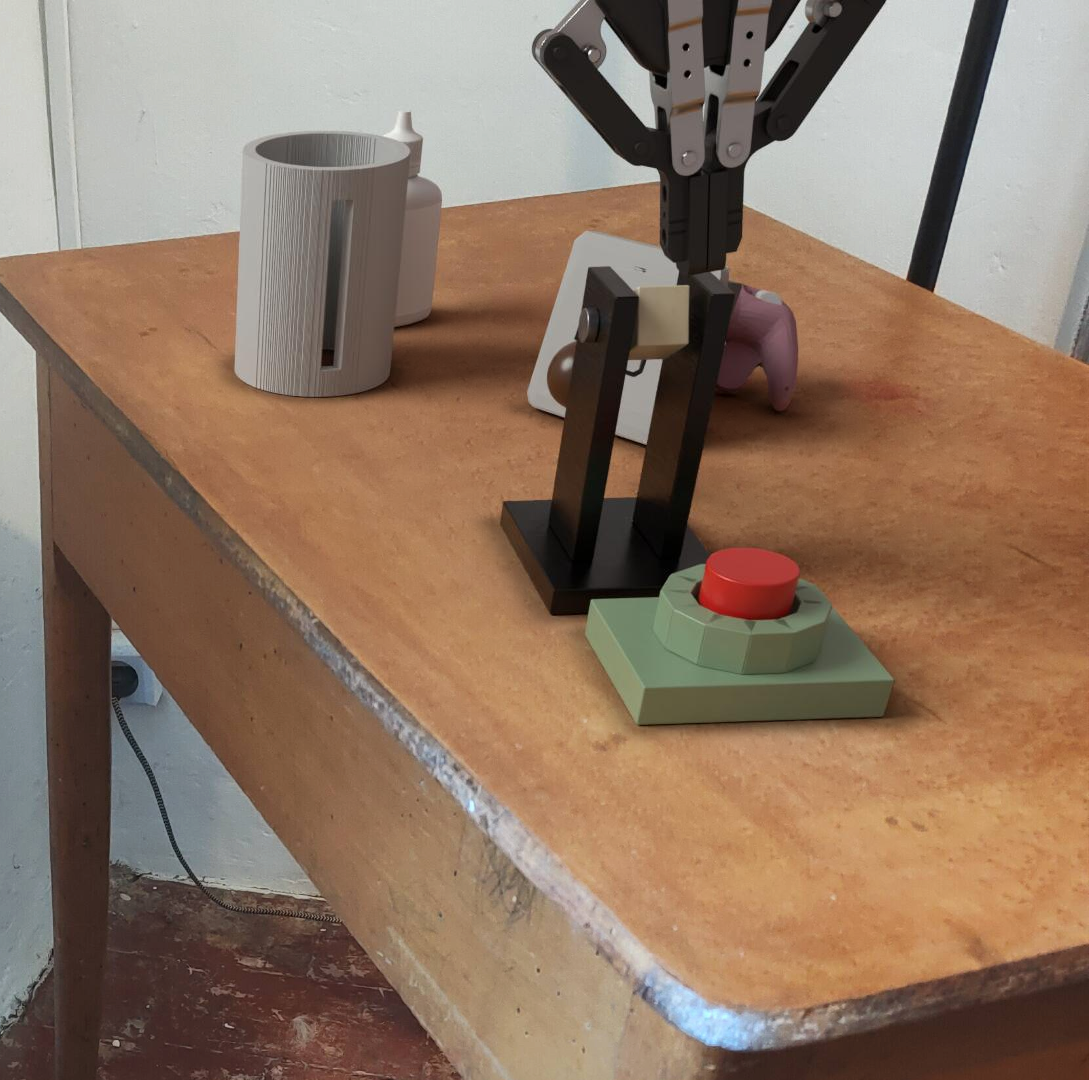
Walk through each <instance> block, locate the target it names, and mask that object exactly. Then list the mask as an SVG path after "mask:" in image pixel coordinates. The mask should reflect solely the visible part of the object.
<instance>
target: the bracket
mask: <svg viewBox="0 0 1089 1080" xmlns="http://www.w3.org/2000/svg"><path fill="white" fill-rule="evenodd" d="M677 285H689V287H690V291H689V343H688V345H686V346H684V347H683V348H681V349H680V350H678V351H677V352H675V353H674V354H672V355H671V356H669V357H668V358H666V359H663V360H662V365H661V370H660V376H659V381H658V386H657V391H656V397H655V402H654V407H653V413H652V418H651V423H650V429H649V434H648V439H647V445H645V449H644V450H645V451H644V455H643V456H644V457H643V461H642V467H641V472H640V477H639V482H638V488H637V492H636V496H629V497H626V496H625V497H605V494H606V489H607V482H608V478H609V472H610V466H611V460H612V454H613V449H614V444H615V438H616V435H615V432H616V427H617V421H618V415H619V410H620V404H621V398H622V393H623V387H624V381H625V375H626V370H627V364H628V358H629V353H630V347H631V341H632V336H633V330H634V324H635V319H636V313H637V307H638V302H639V296H638V295H637V294H636V293H635V292H634V291H633V290H632V289H631V288H630V287H629V286H628V285H627V284H626V283H625V281H624V280H623V279H622V278H621V277H620V276H619V275H618V274H617V273H616V272H615V271H614V270H613V269H612V268H611V267H610V266H604V267H589V268H588V272H587V278H586V284H585V291H584V297H583V304H582V310H581V314H580V318H579V325H578V335H577V342H576V348H575V355H574V361H573V367H572V374H571V380H570V387H569V393H568V399H567V406H566V412H565V418H564V420H563V426H562V432H561V438H560V444H559V445H560V446H559V450H558V458H557V466H556V470H555V476H554V483H553V488H552V489H553V490H552V495H551V496H552V497H551V499H530V500H529V499H527V500H503V501H502V505H501V515H500V521H499V525H500V526H501V528H502V530H503V532H504V533H505V535H506V538H507V540H508V541H509V543H510V544H511V546H512V549H513V550H514V552H515V554H516V556H517V558H518V559H519V561H520V563H521V564H522V566H523V568H524V570H525V572H526V573H527V575H528V577H529V579H530V581H531V582H532V584H533V586H534V588H535V590H536V592H537V593H538V595H539V598H540V600H541V601H542V602H543V604H544V606H545V608H546V610H547V611H548V613H549V615H577V614H581V615H582V614H588V613H589V607H590V602H591V600H592V599H618V598H650V597H659V595H660V591H661V589H662V588H663V586H664V584H665V583H666V581H667V579H668V578H669V576H670V575H671V574H673V573H676V572H679V571H682V570H685V569H688V568H691V567H694V566H697V565H700V564H706V562H707V559H708V558H709V557H710V556H711V555H712V554H711V553H710V552H709V550H708V549H707V548H706V546H705V545H704V544H703V543H702V541H701V540H700V539H699V538H698V536H697V535H696V534H695V532H694V531H693V529H691V526H689V524H688V523H689V518H690V514H691V509H692V505H693V500H694V493H695V489H696V485H697V480H698V476H699V471H700V465H701V461H702V456H703V451H704V447H705V441H706V437H707V432H708V427H709V422H710V417H711V412H712V409H713V403H714V399H715V395H716V394H715V393H716V390H717V389H716V384H717V379H718V375H719V370H720V365H721V360H722V356H723V351H724V346H725V344H726V336H727V332H728V327H729V322H730V317H731V312H732V308H733V303H734V298H735V294H734V293H733V292H732V291H731V290H730V289H729V288H728V287H727V286H726V285H724V284H723V283H722V282H721V281H720V280H719V279H718V278H717V277H716V276H715V275H713V274H712V273H711V272H706V273H701V274H696V275H690V276H685V275H684V274H683V273H681V272H680V271H679V274H678V280H677ZM677 285H676V286H677Z"/></svg>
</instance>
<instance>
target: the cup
mask: <svg viewBox="0 0 1089 1080" xmlns="http://www.w3.org/2000/svg"><path fill="white" fill-rule="evenodd" d="M383 136H384V135H378V134H372V133H366V132H357V131H347V130H346V131H345V130H302V131H291V132H290V131H289V132H283V133H275V134H271V135H266V136H261V137H259V138H256V139H255V138H254V139H253V140H251V141H249V142H247V143H246V144H244V146H243V147H242V160H241V161H242V162H241V163H242V164H241V165H242V166H241V185H240V187H241V189H240V193H241V194H240V212H239V213H240V216H239V217H240V218H239V237H238V239H239V240H238V241H239V242H238V243H239V244H238V265H237V267H238V269H237V292H236V293H237V296H236V316H235V317H236V321H235V342H234V343H235V346H234V373H235V375H236V376H237V377H238V378H239V380H241V381H242V382H243V383H244V384H247V385H249V386H251V387H253V388H256V389H258V390H262V391H265V392H270V393H273V394H280V395H285V396H292V397H305V398H307V397H310V398H314V397H316V398H323V397H324V398H326V397H327V398H328V397H340V396H346V395H347V396H348V395H353V394H357V393H362V392H366V391H369V390H372V389H375V388H377V387H378V386H380V385H382V384H384V382H386V381H388V379H389V376H390V375H391V367H392V356H393V346H394V345H393V344H394V334H395V327H394V325H395V314H396V303H397V292H398V282H399V271H400V260H401V250H402V239H403V228H404V217H405V207H406V196H407V185H408V174H409V164H410V153H411V151H410V148H409V147H408V146H407V145H405V144H404V143H402V142H400V141H397V140H395V139H391V138H388V137H383ZM323 350H328V351H334V353H333V365H322V358H323V357H322V356H323Z"/></svg>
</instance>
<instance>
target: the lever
mask: <svg viewBox="0 0 1089 1080" xmlns="http://www.w3.org/2000/svg"><path fill="white" fill-rule="evenodd" d="M689 291H690V287H689V285H677V286H642V287H638V288H637V289H635V290H634V292H635V293H636V294H637V295H638V296H639V302H638V307H637V313H636V319H635V324H634V330H633V336H632V341H631V347H630V353H629V358H628V360H652V359H666V358H668V357H669V356H671V355H672V354H674V353H675V352H677V351H678V350H680V349H681V348H683V347H684V346H686V345H688V343H689ZM576 342H577V341H574V342H572V343H569V344H567V345H565V346H564V347H563V348H561V349H560V350H559V351H558V352H557V353H556V354H555V356H554V357H553V359H552V360H551V362H550V365H549V368H548V372H547V385H548V389H549V392H550V394H551V396H552V397H553V398H554V400H555V401H556V402H557V403H559V404H560V405H562V406H563V407H565V408H566V406H567V399H568V393H569V387H570V380H571V374H572V367H573V361H574V355H575V348H576Z"/></svg>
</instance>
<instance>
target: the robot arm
mask: <svg viewBox="0 0 1089 1080" xmlns="http://www.w3.org/2000/svg"><path fill="white" fill-rule="evenodd" d="M801 1H802V0H579V1H578V2H577V3H576V4H575V5H574V6H573V8H571V10H570V11H569V12H568V13H567V14H566V15H565V16H564V17H563V18H562V19H561V20H560V21H559V22H558V23H557V25H556V26H555V27H554V28H546V29H543V30H541V31H540V32H539V33H538V34H536V35H535V38H534V39H533V42H532V43H531V54H532V57H533V59H534V60H535V62H537V64H538V65H539V66H540V68H542V69H543V71H544V73H546V75H547V76H548V77H549V78H550V79H551V80H552V82H553V83H554V84H555V85H556V86H557V87H558V89H559V90H560V91H561V92H562V93H563V94H564V95H565V96H566V98H568V100H569V101H570V103H571V104H572V105H573V106H574V107H575V108H576V110H578V112H579V113H580V114H581V115H582V117H583V118H584V119H585V120H586V121H587V123H588V124H590V126H591V127H592V128H593V129H594V130H595V132H596V133H597V134H598V135H599V136H600V138H601V139H602V140H603V141H604V142H605V143H606V145H607V146H608V147H609V148H610V149H611V150H612V152H614V153H615V154H616V155H617V156H619V157H620V158H621V159H623V160H624V161H626V162H627V163H629V164H630V165H632V166H634V167H646V168H651V169H656V171H657V172H658V176H659V246H660V247H661V248H662V250H663V253H664V255H665V256H666V257H667V258H668V259H669V260H671V261H672V262H673V263H676V267H677V269H678V270H679V271H680V272H681V273H683V274H684V275H685V276H690V275H696V274H701V273H706V272H712V271H718V270H724V268H725V265H727V254H733V253H737V251H738V249H739V246H740V245H741V242H742V239H743V229H744V228H743V226H744V223H743V221H744V196H745V195H744V191H745V172H746V171H745V170H746V166H747V164H748V162H749V160H750V159H751V158H752V156H753V155H754V154H755V153H756V152H758V151H759V150H761V149H763V148H765V147H766V146H768V145H770V144H772V143H774V142H783V141H786V140H789V139H790V138H791V137H793V136H794V134H795V133H796V132H797V131H798V129H799V128H800V127H801V125H802V123H804V121H805V120H806V118H807V117H808V115H809V113H811V111H812V109H813V108H814V107H815V105H816V104H817V102H818V100H819V99H820V98H821V96H822V95H823V93H824V92H825V91H826V89H827V88H828V86H829V85H830V83H831V82H832V80H833V79H834V78H835V76H836V75H837V73H838V72H839V70H840V69H841V67H842V66H843V65H844V64H845V62H846V60H847V59H848V57H849V56H850V55H851V53H852V52H853V50H854V48H856V46H857V45H858V43H859V42H860V40H861V38H862V37H863V36H864V34H865V33H866V31H867V30H868V29H869V27H870V26H871V24H872V23H873V21H874V20H875V19H876V18H877V15H878V14H879V13H880V12H881V10H882V8H883V7H884V5H886V3H887V0H806V3H805V6H804V15H805V18H806V20H807V21H808V23H807V25H806V26H805V28H804V29H803V31H802V32H801V34H800V35H799V37H798V38H797V40H796V41H795V42H794V44H793V45H792V47H791V49H790V50H789V52H788V53H787V54H786V56H785V58H784V59H783V61H782V62H781V63H780V65H779V66H778V67H777V69H776V71H775V73H774V74H773V75H772V77H771V78H770V80H769V81H768V83H767V84H766V86H765V87H764V89H763V90H762V91H761V89H762V82H763V72H764V62H765V53H766V52H767V51H768V50H769V49H770V48H771V47H772V46H773V45H774V43H775V42H776V41H777V39H778V38H779V36H780V34H781V33H782V31H783V30H784V28H785V27H786V25H787V24H788V21H789V20H790V18H791V17H792V16H793V14H794V12H795V11H796V9H797V7H798V6H799V4H800V2H801ZM603 21H605V22H606V24H607V25H608V26H609V28H610V29H611V30H612V32H613V33H614V34H615V35H616V37H617V38H618V39H619V41H620V42H621V44H622V45H623V46H624V48H625V49H626V51H628V53H629V54H630V55H631V57H632V58H633V60H634V61H635V62H636V63H637V64H638V66H640V67H641V68H643V69H644V70H646V71H648V77H649V78H648V79H649V92H650V93H649V94H650V98H651V102H652V104H653V110H654V122H655V127H649V126H646V125H645V124H644V123H643V121H642V120H641V119H640V118H639V117H638V116H637V114H636V113H635V112H634V111H633V110H632V108H631V107H630V106H629V105H628V104H627V102H626V101H625V100H624V99H623V98H622V96H621V95H620V94H619V93H618V91H616V89H615V88H614V87H613V86H612V84H611V83H610V82H609V81H608V80H607V78H606V77H605V76H604V75H603V74H602V73H601V71H600V70H599V68H600V67H601V66H602V65H603V63H604V62H605V60H606V58H607V53H608V52H607V45H606V43H605V41H604V39H603V37H602V32H601V31H602V30H601V29H602V24H603Z"/></svg>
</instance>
